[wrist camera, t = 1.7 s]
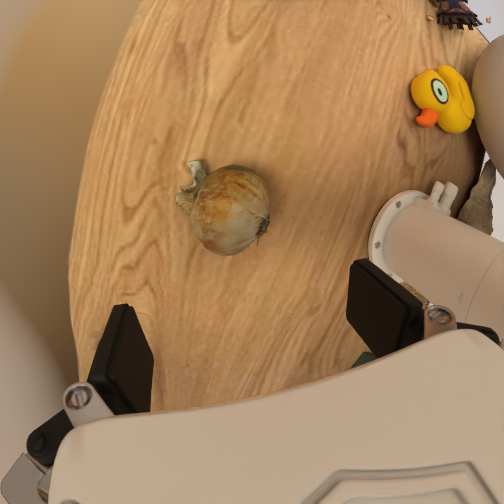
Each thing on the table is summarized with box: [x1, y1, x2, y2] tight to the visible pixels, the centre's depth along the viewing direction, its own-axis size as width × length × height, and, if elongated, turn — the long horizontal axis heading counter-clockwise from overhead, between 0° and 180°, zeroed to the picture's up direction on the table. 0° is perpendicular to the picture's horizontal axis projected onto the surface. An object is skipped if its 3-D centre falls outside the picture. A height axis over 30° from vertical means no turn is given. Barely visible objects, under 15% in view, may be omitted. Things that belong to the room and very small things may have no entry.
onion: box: [176, 160, 270, 256], centre depth 23 cm, size 8×8×8 cm
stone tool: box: [456, 159, 496, 235], centre depth 31 cm, size 20×4×10 cm
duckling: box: [411, 65, 475, 134], centre depth 23 cm, size 11×5×10 cm
